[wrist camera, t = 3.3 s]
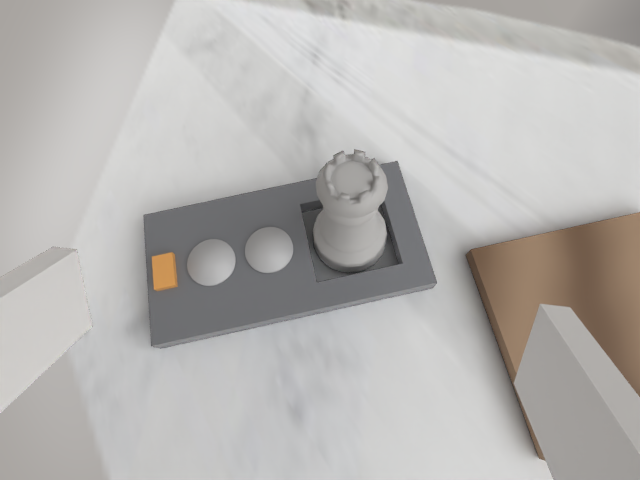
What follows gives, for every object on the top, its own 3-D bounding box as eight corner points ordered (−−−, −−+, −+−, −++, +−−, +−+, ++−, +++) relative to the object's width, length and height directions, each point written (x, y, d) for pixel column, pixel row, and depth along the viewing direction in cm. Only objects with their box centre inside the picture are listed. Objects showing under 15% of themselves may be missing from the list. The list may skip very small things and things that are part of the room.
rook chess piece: (304, 218, 26) (289, 146, 18) (372, 199, 26) (384, 120, 19) (324, 284, 24) (316, 234, 17) (396, 263, 25) (419, 204, 17)
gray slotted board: (395, 170, 27) (398, 157, 25) (432, 288, 24) (438, 280, 22) (152, 222, 26) (140, 212, 25) (160, 348, 23) (148, 345, 22)
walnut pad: (642, 216, 25) (654, 209, 24) (748, 409, 21) (767, 410, 20) (465, 254, 24) (470, 249, 23) (539, 458, 20) (548, 461, 20)
